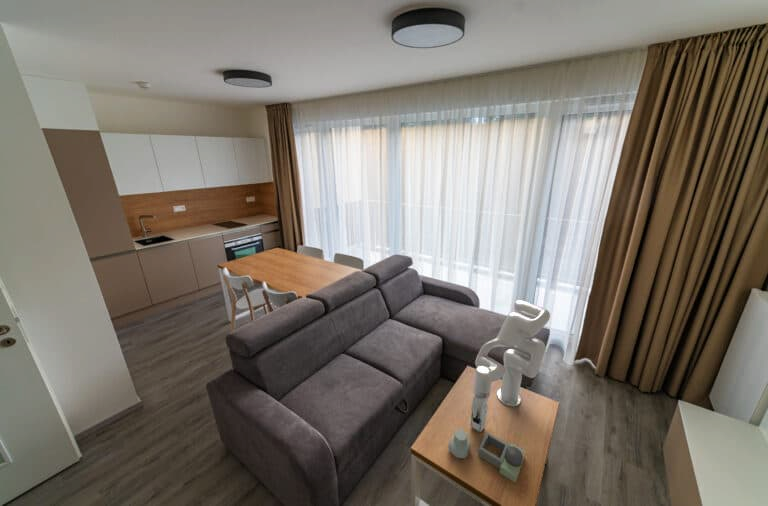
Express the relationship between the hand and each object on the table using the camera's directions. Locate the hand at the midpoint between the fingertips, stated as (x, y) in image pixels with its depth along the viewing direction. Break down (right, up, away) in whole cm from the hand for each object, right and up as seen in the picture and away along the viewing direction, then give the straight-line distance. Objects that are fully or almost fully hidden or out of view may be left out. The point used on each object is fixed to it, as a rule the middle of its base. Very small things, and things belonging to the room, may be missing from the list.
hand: (478, 417), depth 145 cm
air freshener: (-12, -11, -9) cm, 18 cm away
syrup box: (0, -6, +2) cm, 6 cm away
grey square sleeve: (+6, -12, -13) cm, 18 cm away
